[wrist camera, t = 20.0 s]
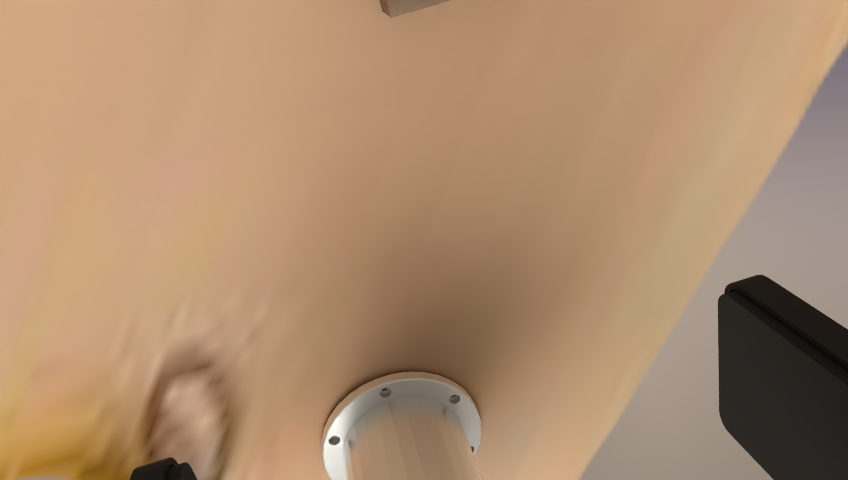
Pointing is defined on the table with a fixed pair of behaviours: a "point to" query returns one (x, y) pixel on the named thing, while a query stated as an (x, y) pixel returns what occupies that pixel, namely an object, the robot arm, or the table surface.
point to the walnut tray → (406, 6)
